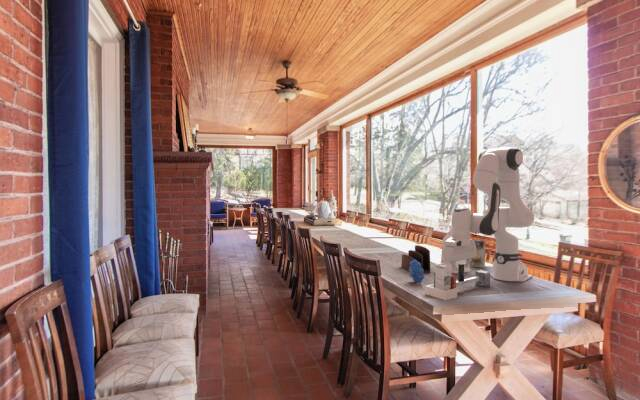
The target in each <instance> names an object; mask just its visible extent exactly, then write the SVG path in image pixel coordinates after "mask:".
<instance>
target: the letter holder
mask: <svg viewBox="0 0 640 400" xmlns="http://www.w3.org/2000/svg"><path fill="white" fill-rule="evenodd" d="M414 259H415V260H417V262H420V264H421V268H422V269H423V270H424V272H423V273H422V274H429V273H430V274H431V252H430V250H429V249H428V248H427V247H426V246H425V247H424V246H422V245H417V244H416V245H414V250H411V249H409V250H408V252H407V254H404V253H403V254H401V267H402V268H404V269H405V270H407V271H410V270H409V267H410V262H411V261H413V260H414Z"/></svg>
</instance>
